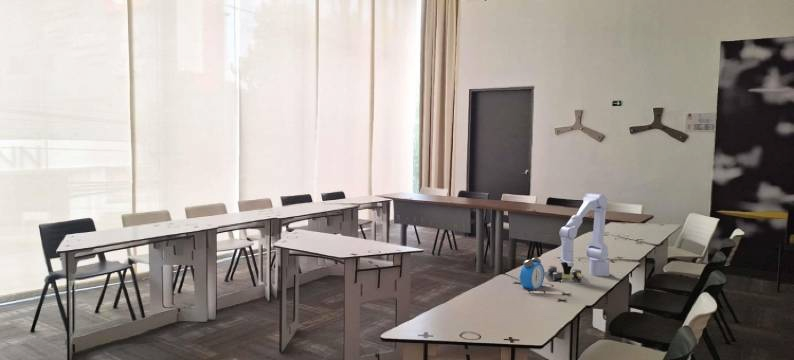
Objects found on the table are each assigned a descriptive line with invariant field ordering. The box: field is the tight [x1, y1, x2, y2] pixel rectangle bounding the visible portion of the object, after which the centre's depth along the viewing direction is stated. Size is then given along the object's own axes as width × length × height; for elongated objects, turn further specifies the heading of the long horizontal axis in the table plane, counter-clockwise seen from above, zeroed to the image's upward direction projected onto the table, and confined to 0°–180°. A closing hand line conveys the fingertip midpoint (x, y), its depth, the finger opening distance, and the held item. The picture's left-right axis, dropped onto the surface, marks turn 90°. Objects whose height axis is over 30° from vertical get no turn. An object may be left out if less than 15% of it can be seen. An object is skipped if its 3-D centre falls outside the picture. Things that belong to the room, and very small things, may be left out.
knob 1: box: [547, 264, 558, 274], centre depth 281 cm, size 10×4×3 cm, turn 162°
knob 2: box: [553, 271, 574, 280], centre depth 265 cm, size 10×4×3 cm, turn 76°
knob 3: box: [571, 269, 583, 278], centre depth 268 cm, size 10×4×3 cm, turn 175°
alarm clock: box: [519, 256, 545, 292], centre depth 253 cm, size 13×6×15 cm, turn 136°
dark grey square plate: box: [544, 271, 590, 284], centre depth 272 cm, size 20×20×2 cm
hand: (566, 276), depth 266 cm, fingers closed, pressing on knob 2
